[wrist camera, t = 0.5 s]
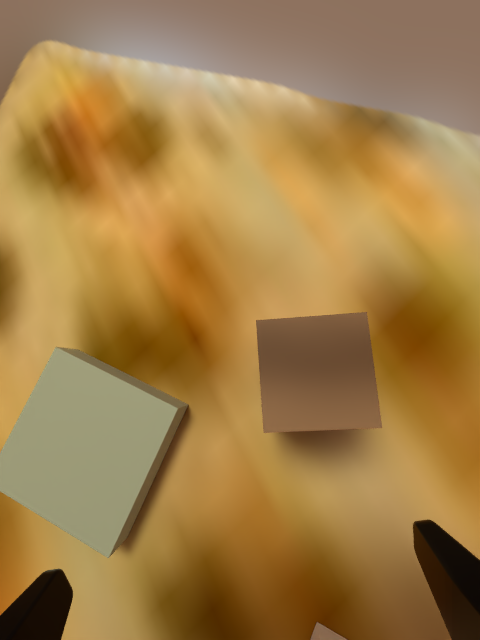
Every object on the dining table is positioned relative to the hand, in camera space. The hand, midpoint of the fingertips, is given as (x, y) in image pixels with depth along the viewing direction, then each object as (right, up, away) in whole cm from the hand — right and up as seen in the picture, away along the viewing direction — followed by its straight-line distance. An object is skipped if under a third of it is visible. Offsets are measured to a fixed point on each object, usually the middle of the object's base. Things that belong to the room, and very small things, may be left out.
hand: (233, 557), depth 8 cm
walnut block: (+4, +2, +15) cm, 16 cm away
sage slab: (-10, -3, +16) cm, 19 cm away
